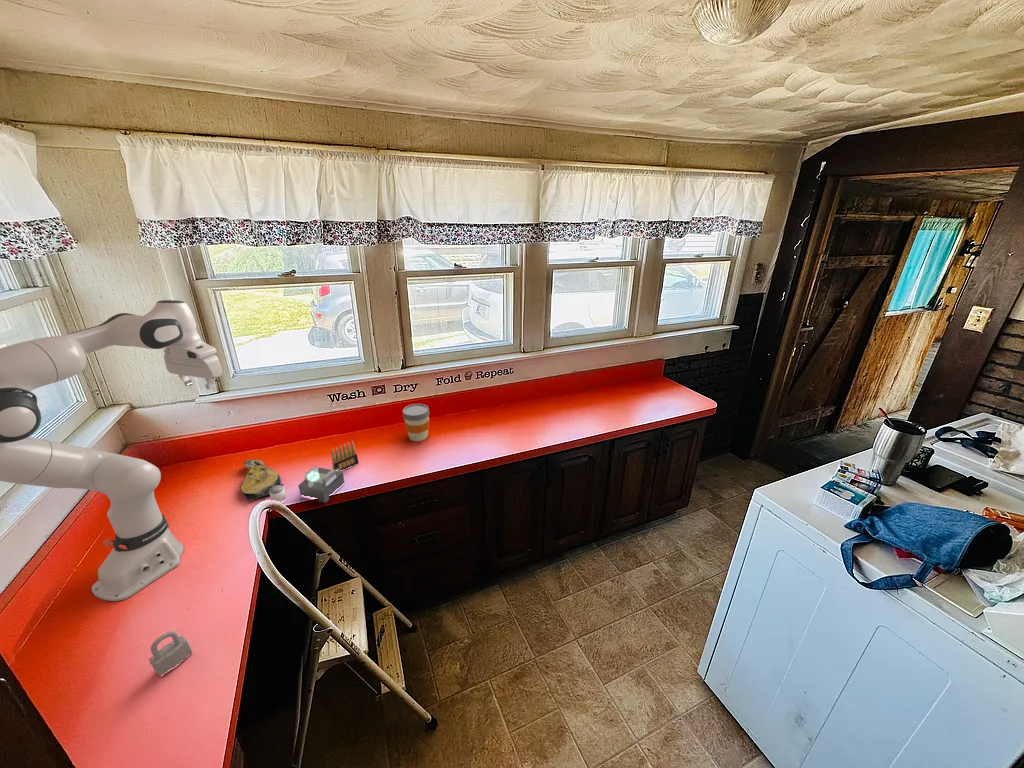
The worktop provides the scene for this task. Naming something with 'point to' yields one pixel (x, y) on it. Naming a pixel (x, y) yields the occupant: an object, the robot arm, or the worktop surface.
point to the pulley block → (258, 480)
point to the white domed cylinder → (277, 493)
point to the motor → (321, 483)
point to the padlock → (169, 652)
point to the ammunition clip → (344, 457)
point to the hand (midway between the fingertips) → (199, 387)
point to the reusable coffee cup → (416, 421)
